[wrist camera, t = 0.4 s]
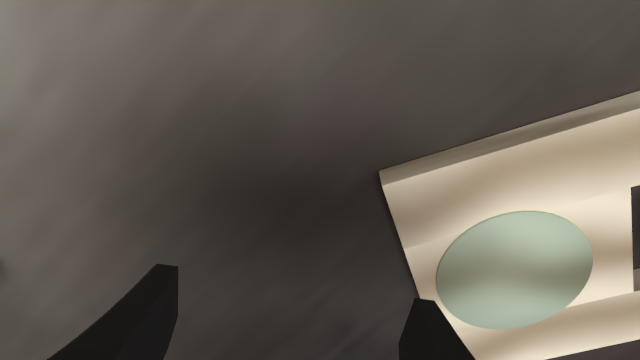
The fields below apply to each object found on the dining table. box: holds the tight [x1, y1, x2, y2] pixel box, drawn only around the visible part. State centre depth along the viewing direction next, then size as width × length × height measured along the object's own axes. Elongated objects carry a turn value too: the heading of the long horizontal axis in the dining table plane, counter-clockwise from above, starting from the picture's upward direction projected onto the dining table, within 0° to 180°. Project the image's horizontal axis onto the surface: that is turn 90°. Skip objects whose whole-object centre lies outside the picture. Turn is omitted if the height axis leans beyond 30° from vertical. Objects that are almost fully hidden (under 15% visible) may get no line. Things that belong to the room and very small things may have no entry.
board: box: [379, 91, 640, 360], centre depth 23 cm, size 15×20×2 cm
